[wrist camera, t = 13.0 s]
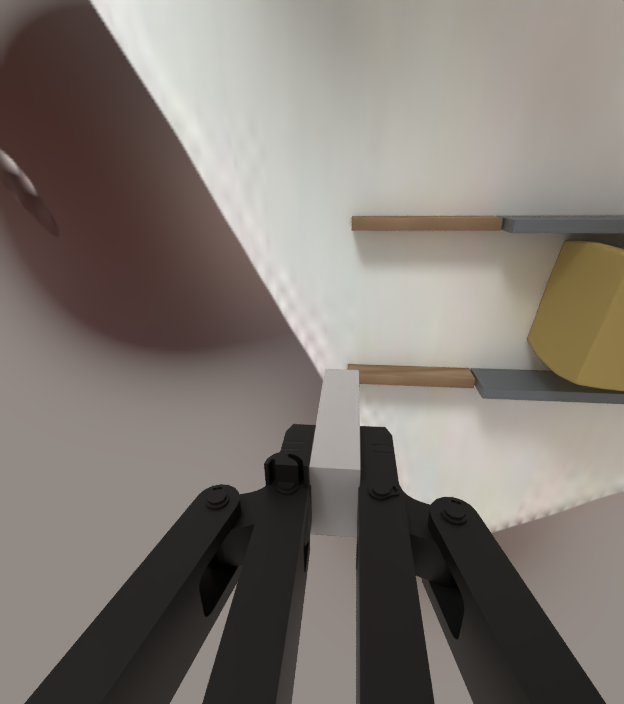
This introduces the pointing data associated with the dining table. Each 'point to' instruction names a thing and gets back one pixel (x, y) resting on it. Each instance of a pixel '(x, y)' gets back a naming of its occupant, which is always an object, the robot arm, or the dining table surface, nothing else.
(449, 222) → the lane rails
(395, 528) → the robot arm
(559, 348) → the cheese
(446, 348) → the dining table surface
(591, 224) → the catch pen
